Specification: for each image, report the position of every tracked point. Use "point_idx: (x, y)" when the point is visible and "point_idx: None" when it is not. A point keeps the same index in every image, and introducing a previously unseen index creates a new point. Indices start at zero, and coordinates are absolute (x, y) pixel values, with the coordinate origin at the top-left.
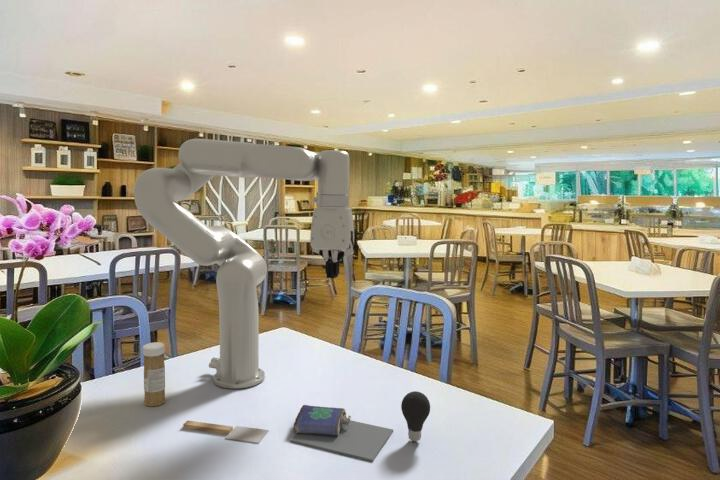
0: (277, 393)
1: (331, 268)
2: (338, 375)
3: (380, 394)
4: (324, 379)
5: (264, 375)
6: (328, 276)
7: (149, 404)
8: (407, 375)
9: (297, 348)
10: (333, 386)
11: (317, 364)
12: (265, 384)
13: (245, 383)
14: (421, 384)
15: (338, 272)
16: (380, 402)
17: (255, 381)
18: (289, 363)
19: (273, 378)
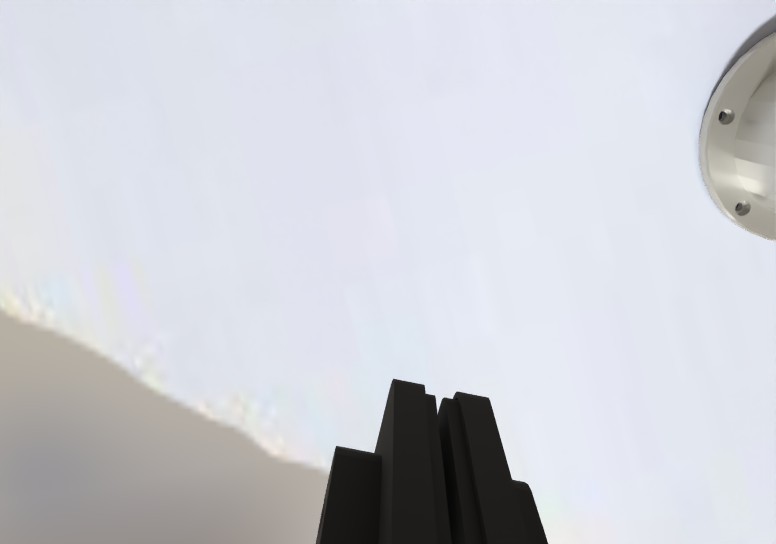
0: (603, 31)
1: (413, 467)
2: (397, 277)
3: (185, 133)
4: (443, 223)
5: (705, 165)
6: (459, 396)
7: None
8: (131, 341)
9: (635, 508)
10: (389, 163)
11: (510, 366)
12: (678, 110)
13: (769, 45)
14: (58, 269)
15: (322, 511)
16: (166, 56)
17: (729, 82)
18: (630, 349)
19: (659, 180)
